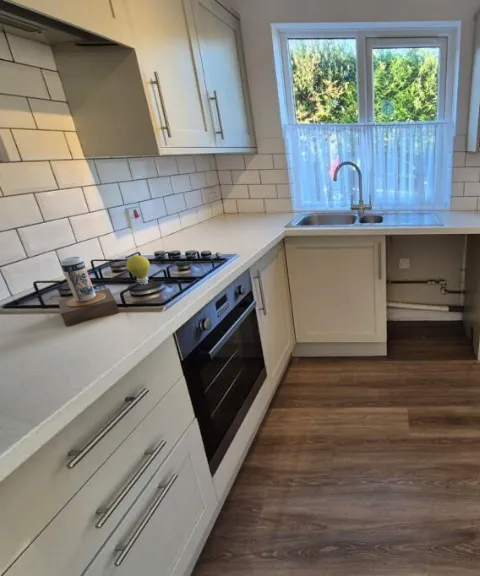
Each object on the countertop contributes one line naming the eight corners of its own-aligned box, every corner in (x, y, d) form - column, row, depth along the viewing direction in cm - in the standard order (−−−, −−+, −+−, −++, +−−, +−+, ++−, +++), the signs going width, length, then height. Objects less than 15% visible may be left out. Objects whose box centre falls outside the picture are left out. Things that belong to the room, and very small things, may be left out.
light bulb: (159, 280, 127) (151, 253, 123) (144, 287, 121) (135, 259, 117) (143, 279, 128) (135, 252, 124) (127, 286, 122) (118, 258, 118)
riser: (66, 326, 96) (60, 312, 95) (63, 312, 105) (57, 299, 103) (119, 312, 104) (114, 298, 102) (113, 300, 112) (108, 287, 110)
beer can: (83, 303, 100) (67, 262, 95) (71, 301, 101) (54, 261, 96) (100, 296, 104) (86, 256, 99) (89, 294, 105) (74, 255, 101)
